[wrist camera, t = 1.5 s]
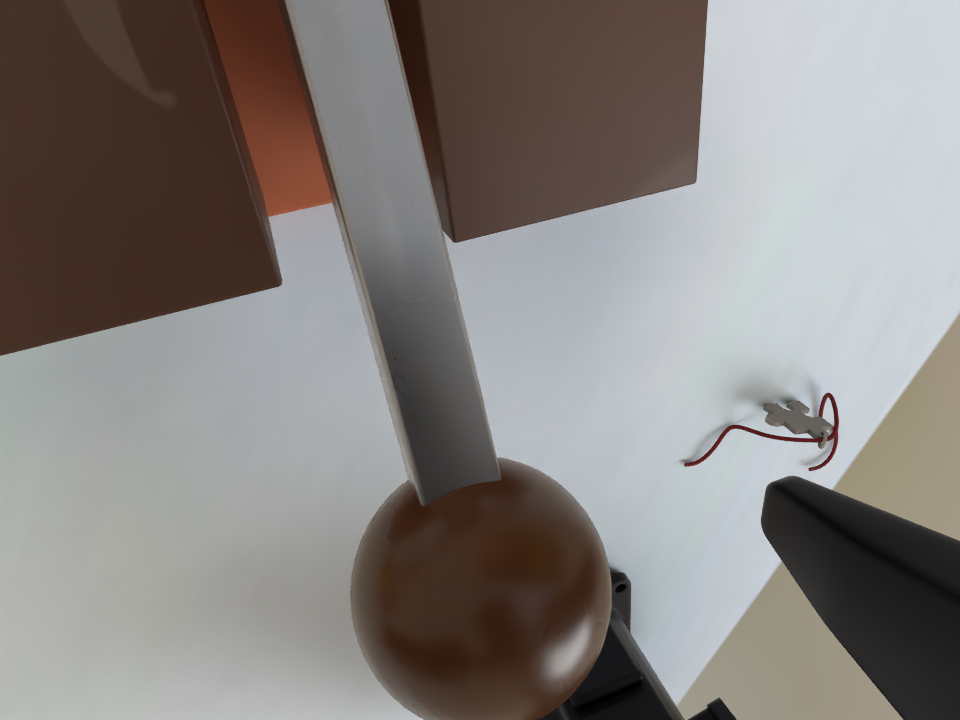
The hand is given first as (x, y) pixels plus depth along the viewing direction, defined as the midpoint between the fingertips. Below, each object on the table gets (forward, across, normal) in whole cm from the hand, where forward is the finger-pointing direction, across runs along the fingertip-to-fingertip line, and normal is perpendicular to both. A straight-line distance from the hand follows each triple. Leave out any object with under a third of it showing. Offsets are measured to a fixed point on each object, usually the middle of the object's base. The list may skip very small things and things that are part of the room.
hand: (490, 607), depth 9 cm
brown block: (+11, 0, -6) cm, 12 cm away
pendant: (+11, -15, +11) cm, 21 cm away
